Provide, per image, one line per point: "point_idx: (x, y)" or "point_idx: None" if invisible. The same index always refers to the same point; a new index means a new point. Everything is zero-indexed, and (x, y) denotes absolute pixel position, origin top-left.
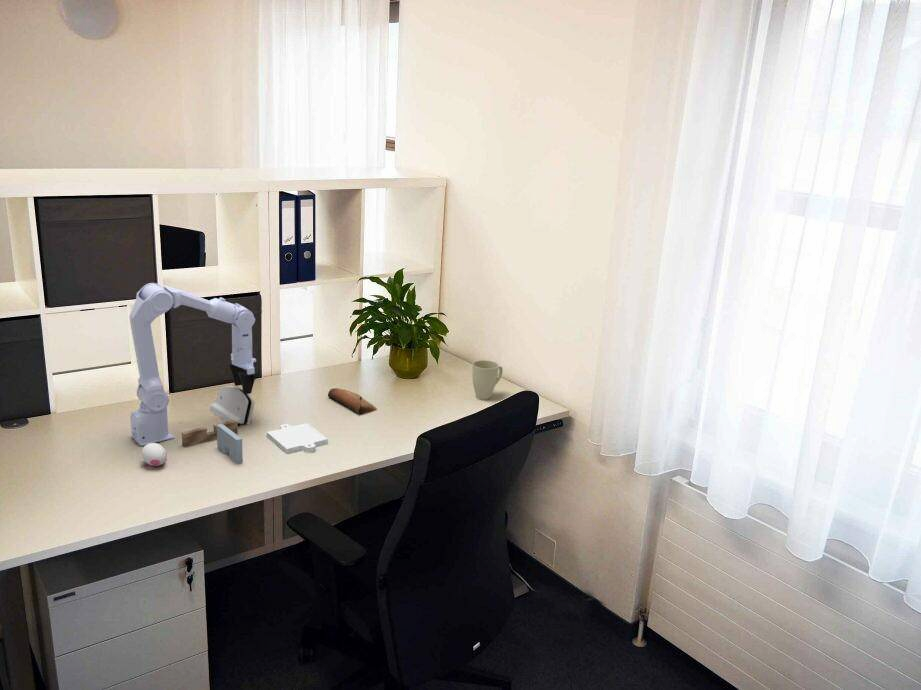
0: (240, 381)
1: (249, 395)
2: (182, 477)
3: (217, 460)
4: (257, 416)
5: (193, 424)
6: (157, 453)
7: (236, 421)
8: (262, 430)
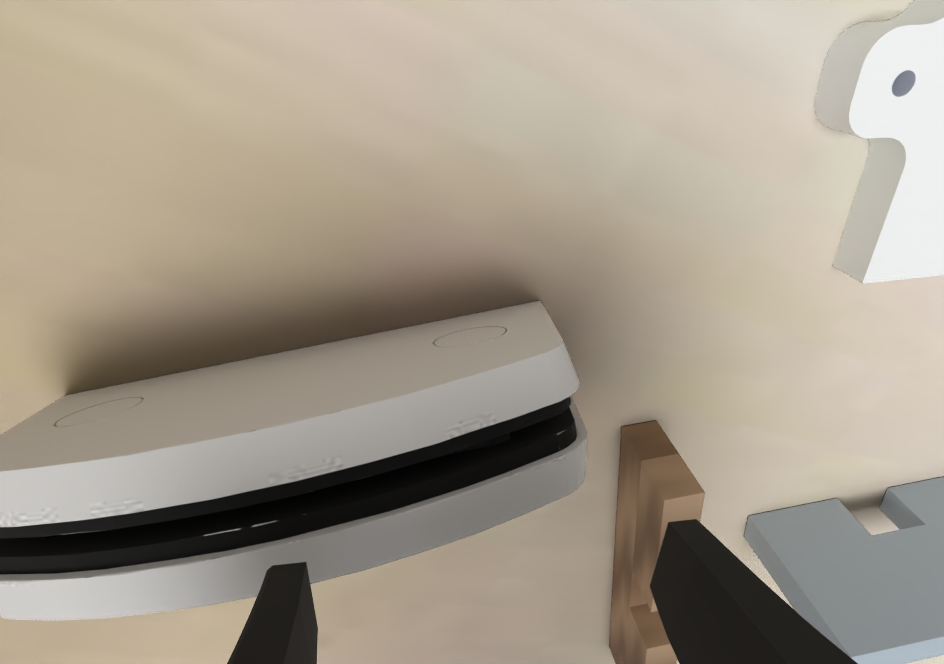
0: (304, 642)
1: (448, 407)
2: None
3: None
4: (420, 194)
5: (371, 594)
6: None
7: (702, 497)
8: (717, 257)
